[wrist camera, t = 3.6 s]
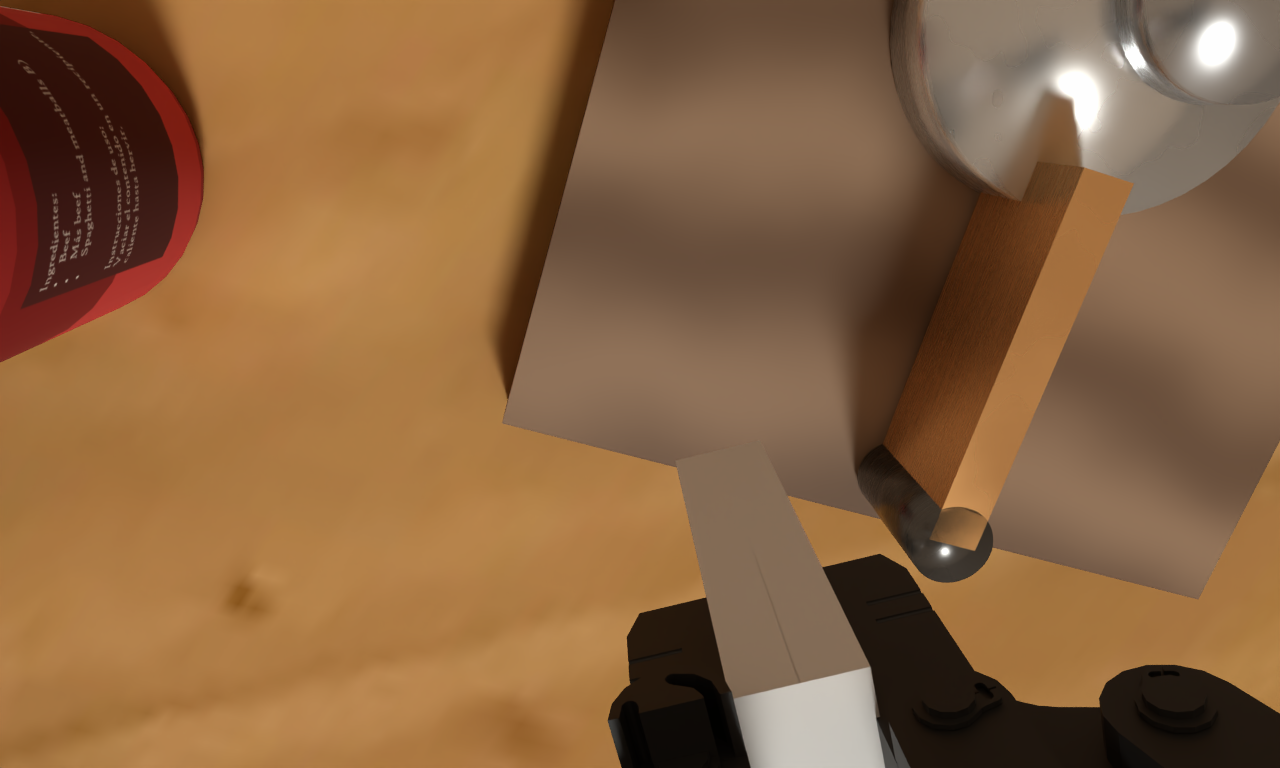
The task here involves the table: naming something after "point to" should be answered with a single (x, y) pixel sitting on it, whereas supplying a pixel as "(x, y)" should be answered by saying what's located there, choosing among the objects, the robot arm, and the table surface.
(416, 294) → the table surface
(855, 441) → the level stand
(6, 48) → the canned food
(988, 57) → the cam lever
